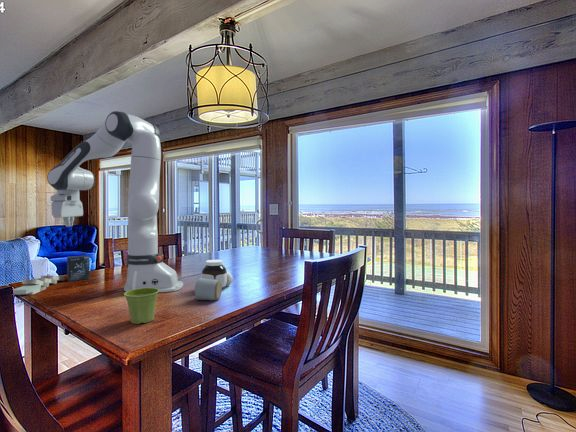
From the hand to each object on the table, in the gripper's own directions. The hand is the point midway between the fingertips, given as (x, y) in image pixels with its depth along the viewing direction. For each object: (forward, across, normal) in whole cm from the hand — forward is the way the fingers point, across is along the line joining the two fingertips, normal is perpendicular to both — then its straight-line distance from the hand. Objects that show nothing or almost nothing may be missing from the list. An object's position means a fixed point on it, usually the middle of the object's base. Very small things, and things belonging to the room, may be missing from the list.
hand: (69, 226), depth 149 cm
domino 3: (+24, +24, 0) cm, 33 cm away
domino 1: (+22, +26, 0) cm, 34 cm away
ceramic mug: (+24, +44, +70) cm, 86 cm away
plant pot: (+24, +65, +52) cm, 87 cm away
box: (+24, +8, +7) cm, 26 cm away
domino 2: (+23, +21, 0) cm, 31 cm away
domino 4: (+23, +15, 0) cm, 27 cm away
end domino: (+23, +9, 0) cm, 25 cm away
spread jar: (+24, +30, +71) cm, 81 cm away
